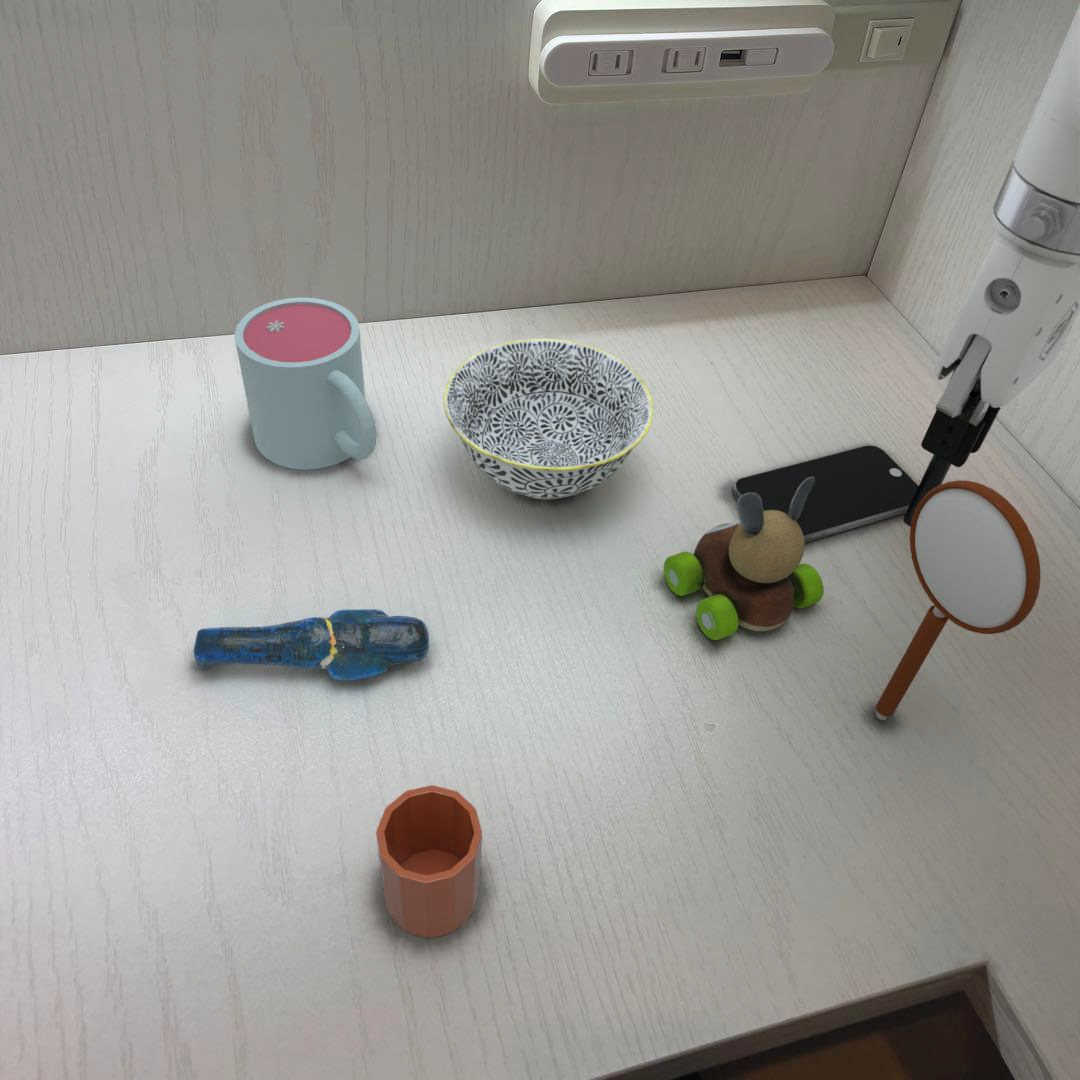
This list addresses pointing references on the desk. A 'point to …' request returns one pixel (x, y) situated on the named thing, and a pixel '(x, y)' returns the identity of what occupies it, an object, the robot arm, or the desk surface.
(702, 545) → the toy car
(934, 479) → the stylus
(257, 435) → the mug
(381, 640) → the figurine
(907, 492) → the smartphone
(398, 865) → the pen pot
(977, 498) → the magnifying glass
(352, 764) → the desk surface
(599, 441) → the bowl
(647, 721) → the desk surface
